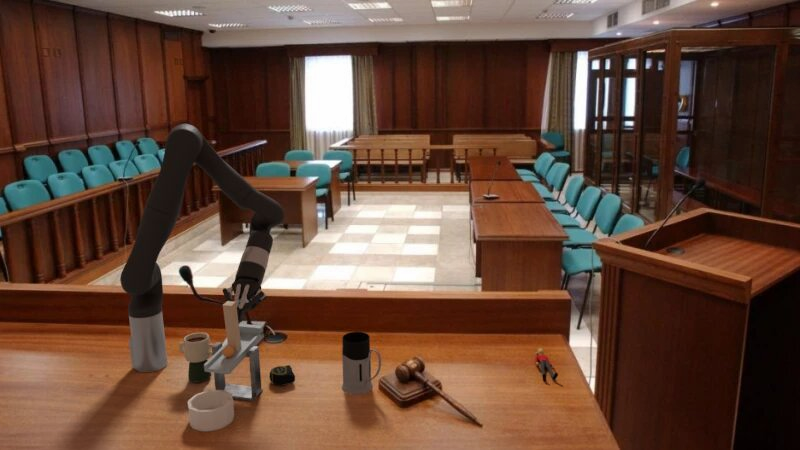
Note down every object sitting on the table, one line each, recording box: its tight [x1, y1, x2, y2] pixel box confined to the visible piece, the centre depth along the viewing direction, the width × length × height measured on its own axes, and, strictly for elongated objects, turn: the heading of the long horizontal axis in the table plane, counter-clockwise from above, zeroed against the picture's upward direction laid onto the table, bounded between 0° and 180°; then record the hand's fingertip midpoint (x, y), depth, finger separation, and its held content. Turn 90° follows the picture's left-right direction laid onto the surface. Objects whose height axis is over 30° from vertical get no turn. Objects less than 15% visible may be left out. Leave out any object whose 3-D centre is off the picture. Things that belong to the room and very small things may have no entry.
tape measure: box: [269, 364, 296, 386], centre depth 181 cm, size 7×7×4 cm
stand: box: [211, 341, 264, 402], centre depth 173 cm, size 12×6×14 cm, turn 76°
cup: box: [187, 389, 235, 433], centre depth 161 cm, size 11×11×6 cm
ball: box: [222, 346, 234, 358], centre depth 168 cm, size 3×3×3 cm
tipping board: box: [204, 300, 265, 375], centre depth 170 cm, size 9×20×16 cm, turn 166°
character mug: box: [178, 332, 215, 383], centre depth 182 cm, size 11×7×13 cm, turn 82°
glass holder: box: [341, 331, 382, 395], centre depth 175 cm, size 9×14×15 cm, turn 44°
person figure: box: [534, 347, 559, 382], centre depth 189 cm, size 5×4×18 cm
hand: (235, 323), depth 171 cm, fingers closed
